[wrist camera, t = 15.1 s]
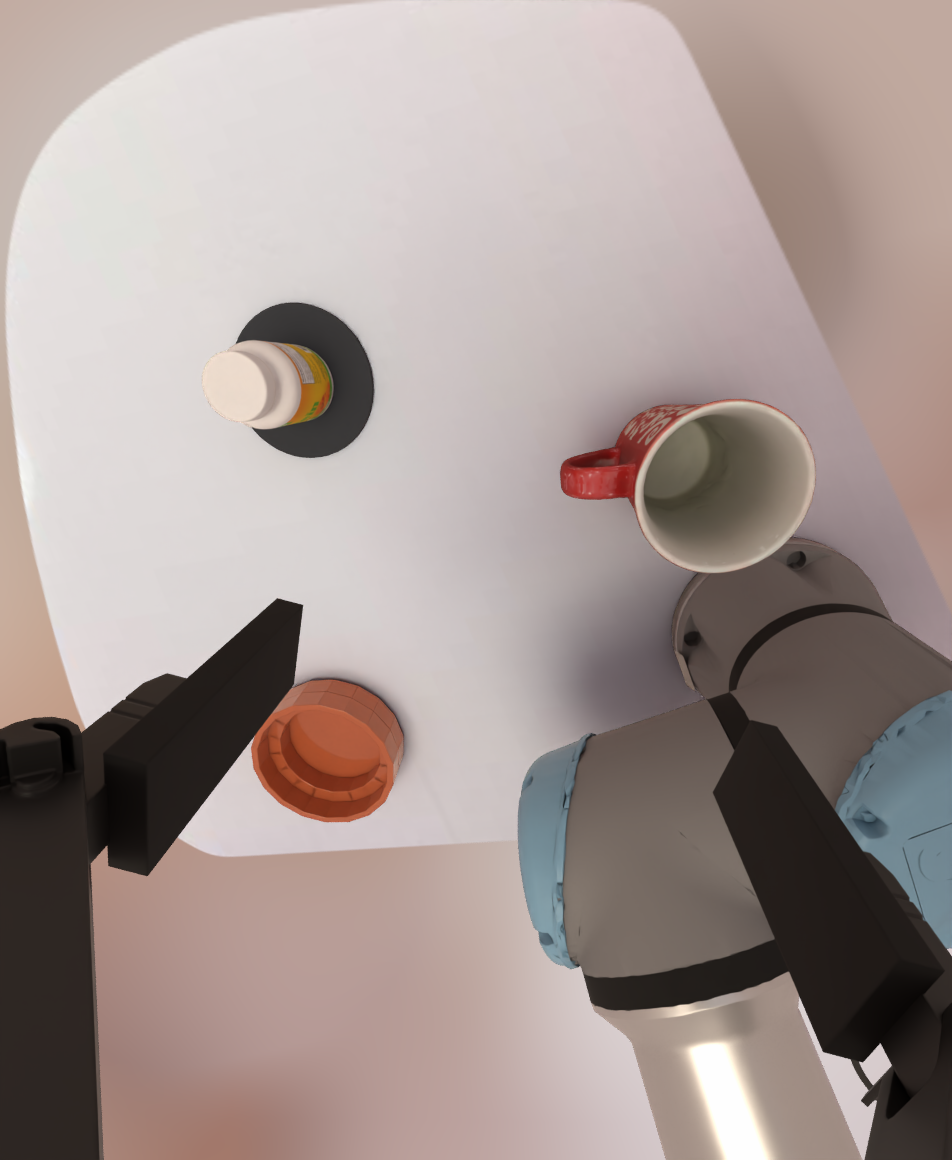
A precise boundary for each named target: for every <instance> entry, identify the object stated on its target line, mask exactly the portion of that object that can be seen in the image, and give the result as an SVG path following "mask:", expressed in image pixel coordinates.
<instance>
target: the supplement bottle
mask: <svg viewBox="0 0 952 1160" xmlns="http://www.w3.org/2000/svg"><path fill="white" fill-rule="evenodd" d="M202 386H203V390H204V394H205V396H206V399H207V400H208V402H209V404H210V405H211V407H212V408H213V409H214V410H215V411H216V412H217V413H218V414H219V415H221V416H222V417H224V418H226V419H228V420H231V421H235V422H241V423H243V424H245V425H247V426H249V427H253V428H257V429H272V428H277V427H282V426H286V425H291V424H296V423H300V422H305V421H309V420H313V419H315V418H317V417H319V416H320V415H322V414H323V413H324V412H325V411H326V410H327V408H328V407H329V405H330V403H331V400H332V397H333V391H334V386H333V379H332V375H331V372H330V370H329V368H328V366H327V364H326V363H325V361H324V360H323V359H322V358H321V357H320V356H319V355H318V354H317V353H315V352H314V351H312V350H310V349H308V348H306V347H303V346H299V345H294V344H285V343H276V342H266V341H256V340H250V341H244V342H240V343H237V344H235V345H233V346H232V347H230V348H229V349H228V350H227V351H223V352H220V353H218V354H216V355H214V356H213V357H212V358H211V359H210V360H209V361H208V362H207V364H206V366H205V368H204V371H203V375H202Z"/></svg>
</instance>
